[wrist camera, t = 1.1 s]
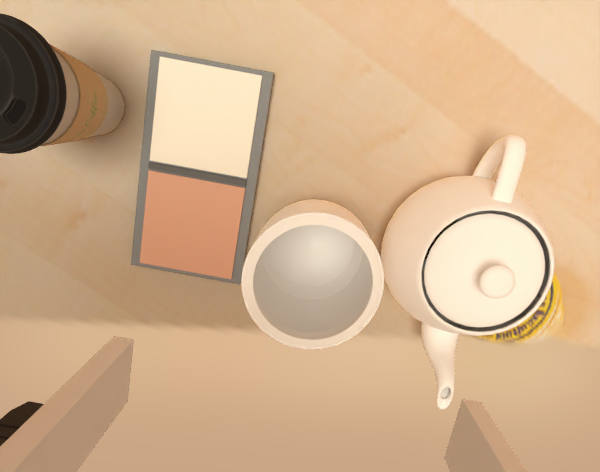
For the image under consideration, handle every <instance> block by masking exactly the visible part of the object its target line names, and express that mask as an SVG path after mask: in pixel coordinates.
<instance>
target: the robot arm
mask: <svg viewBox="0 0 600 472" xmlns="http://www.w3.org/2000/svg"><path fill="white" fill-rule="evenodd" d="M133 341H134V340H132V339H127V338H121V337H116V336H114V337H113V338H112V339H111V340H110V341H109V342H108V343H107V344H106V345H105V346H104V347H103V348H102V349H101V350H100V351H98V352H97V354H95V355H94V356H93V357H92V358H91V359H90V360H89V361H88V362H87V363H86V364H85V365H84V366H83V367H82V368H81V369H80V370H79V371H78V372H77V373H76V374H75V375H74V376H73V377H72V378H71V379H70V380H69V381H67V382H66V383H65V385H63V386H62V387H61V388H60V389H59V390H58V391H57V392H56V393H55V394H54V395H53V396H52V397H51V398H50V399H49V400H48V401H47V402H46V403H45V404H40V403H34V402H27V403H25V404H23V405H21V406H19V407H17V408H15V409H13V410H11V411H10V412H8V413H7V414H6V415H5V416H4V417H3V418H2V419H0V472H77V471H78V469H79V468H80V466H81V465H82V464H83V462H84V461H85V460H86V458H87V457H88V455H89V454H90V453H91V451H92V450H93V448H94V447H95V445H96V444H97V443H98V441H99V440H100V439H101V437H102V436H103V435H104V433H105V432H106V430H107V429H108V427H109V426H110V424H111V423H112V422H113V421H114V419H115V418H116V416H117V415H118V414H119V412H120V411H121V410H122V408H123V407H124V405H125V404H126V403H127V401H128V391H129V381H130V371H131V361H132V351H133ZM444 458H445V460H446V463H447V465H448V468H449V470H450V472H527V471H526V469H525V468H524V466H523V465H522V464H521V462H520V460H519V459H518V457H517V456H516V454H515V453H514V451H513V450H512V448H511V447H510V445H509V444H508V442H507V441H506V439H505V438H504V436H503V435H502V433H501V431H500V430H499V428H498V427H497V426H496V424H495V422H494V421H493V419H492V418H491V416H490V415H489V413H488V412H487V410H486V409H485V407H484V406H483V405H482V403H481V402H476V401H470V400H465V399H462V402H461V405H460V408H459V412H458V415H457V418H456V421H455V425H454V428H453V431H452V434H451V438H450V441H449V444H448V447H447V451H446V454H445V457H444Z"/></svg>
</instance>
